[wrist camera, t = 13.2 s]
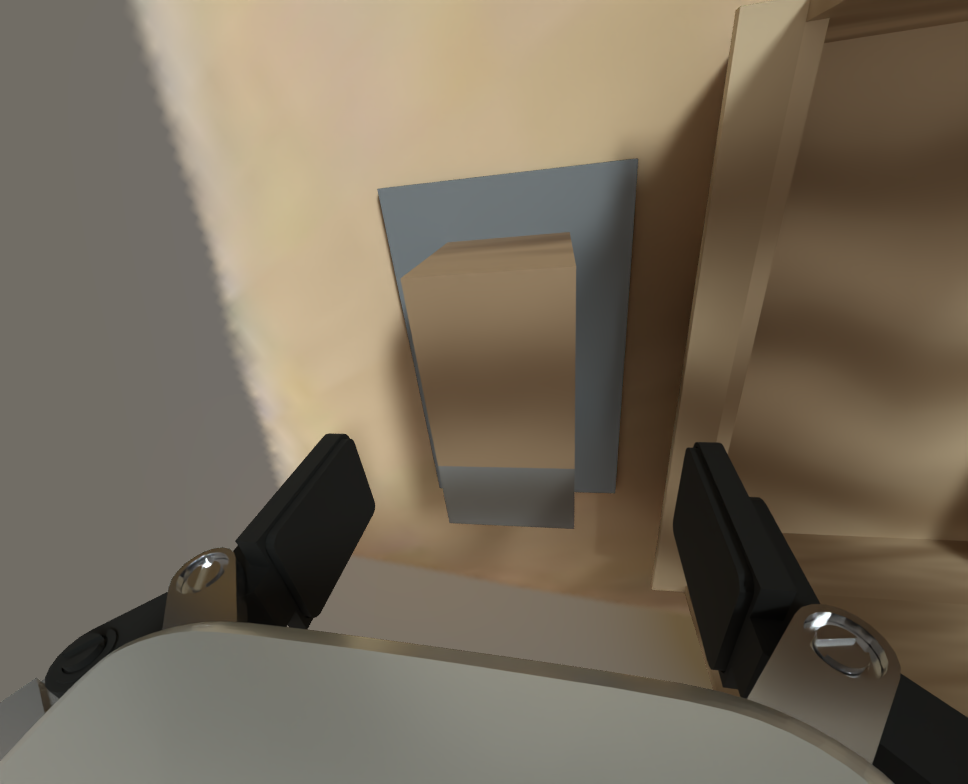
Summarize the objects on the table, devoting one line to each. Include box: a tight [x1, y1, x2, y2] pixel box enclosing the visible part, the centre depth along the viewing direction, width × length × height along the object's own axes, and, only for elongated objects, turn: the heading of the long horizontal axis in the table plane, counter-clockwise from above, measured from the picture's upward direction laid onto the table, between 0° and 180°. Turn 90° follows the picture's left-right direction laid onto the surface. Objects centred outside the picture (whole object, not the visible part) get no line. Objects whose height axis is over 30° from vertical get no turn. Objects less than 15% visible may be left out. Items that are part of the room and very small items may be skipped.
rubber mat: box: [377, 159, 638, 493], centre depth 19 cm, size 16×10×1 cm, turn 6°
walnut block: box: [400, 232, 576, 529], centre depth 16 cm, size 10×5×6 cm, turn 6°
